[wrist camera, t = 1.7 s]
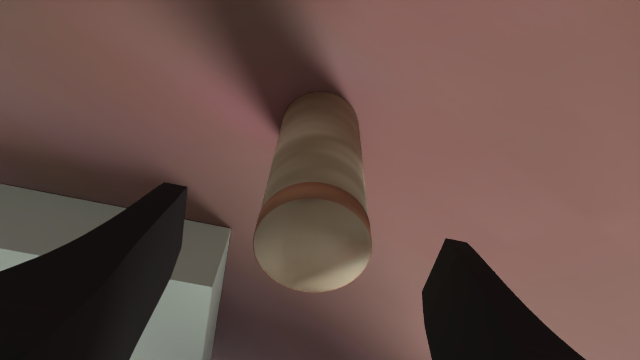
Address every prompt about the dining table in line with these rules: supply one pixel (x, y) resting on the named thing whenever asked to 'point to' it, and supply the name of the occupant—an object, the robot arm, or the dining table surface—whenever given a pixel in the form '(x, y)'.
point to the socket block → (180, 293)
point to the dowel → (315, 199)
